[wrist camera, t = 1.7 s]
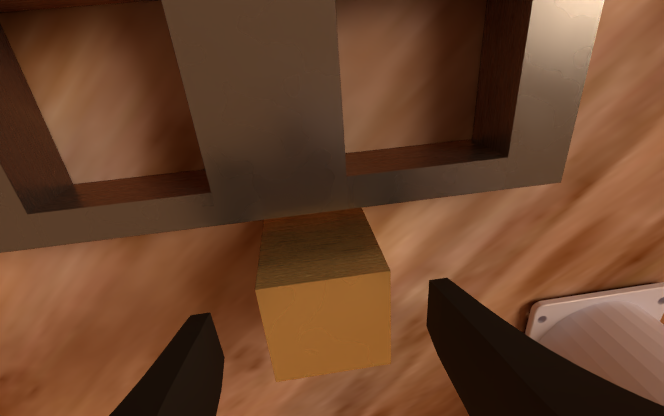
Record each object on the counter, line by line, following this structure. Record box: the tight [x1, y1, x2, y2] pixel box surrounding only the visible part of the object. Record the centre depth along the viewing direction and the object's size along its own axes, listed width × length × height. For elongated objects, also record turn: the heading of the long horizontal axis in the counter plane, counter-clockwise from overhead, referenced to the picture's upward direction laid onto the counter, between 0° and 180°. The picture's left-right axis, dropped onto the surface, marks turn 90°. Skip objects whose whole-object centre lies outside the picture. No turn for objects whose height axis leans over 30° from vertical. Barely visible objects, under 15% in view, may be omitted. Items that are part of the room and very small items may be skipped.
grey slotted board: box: [0, 0, 604, 253], centre depth 11 cm, size 22×8×2 cm, turn 94°
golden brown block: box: [255, 208, 391, 382], centre depth 13 cm, size 4×4×5 cm
